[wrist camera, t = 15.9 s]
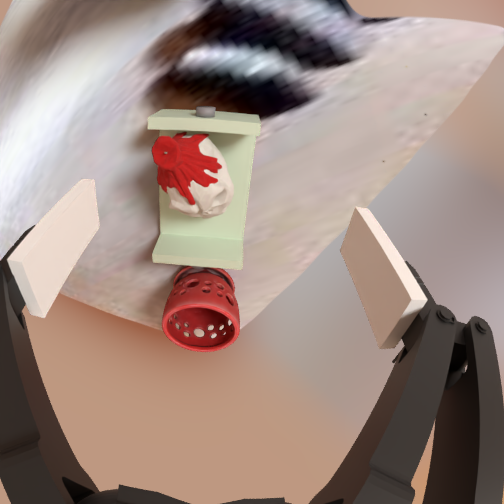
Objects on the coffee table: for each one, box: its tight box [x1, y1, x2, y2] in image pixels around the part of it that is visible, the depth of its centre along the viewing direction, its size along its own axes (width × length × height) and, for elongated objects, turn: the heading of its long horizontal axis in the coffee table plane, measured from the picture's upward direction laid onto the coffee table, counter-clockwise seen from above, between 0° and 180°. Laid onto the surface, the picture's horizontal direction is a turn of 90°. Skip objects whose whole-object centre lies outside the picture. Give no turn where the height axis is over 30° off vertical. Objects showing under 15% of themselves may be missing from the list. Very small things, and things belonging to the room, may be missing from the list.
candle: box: [152, 132, 234, 219], centre depth 37 cm, size 9×11×15 cm
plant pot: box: [162, 266, 240, 352], centre depth 52 cm, size 13×13×12 cm
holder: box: [148, 106, 261, 270], centre depth 42 cm, size 25×14×7 cm, turn 173°
